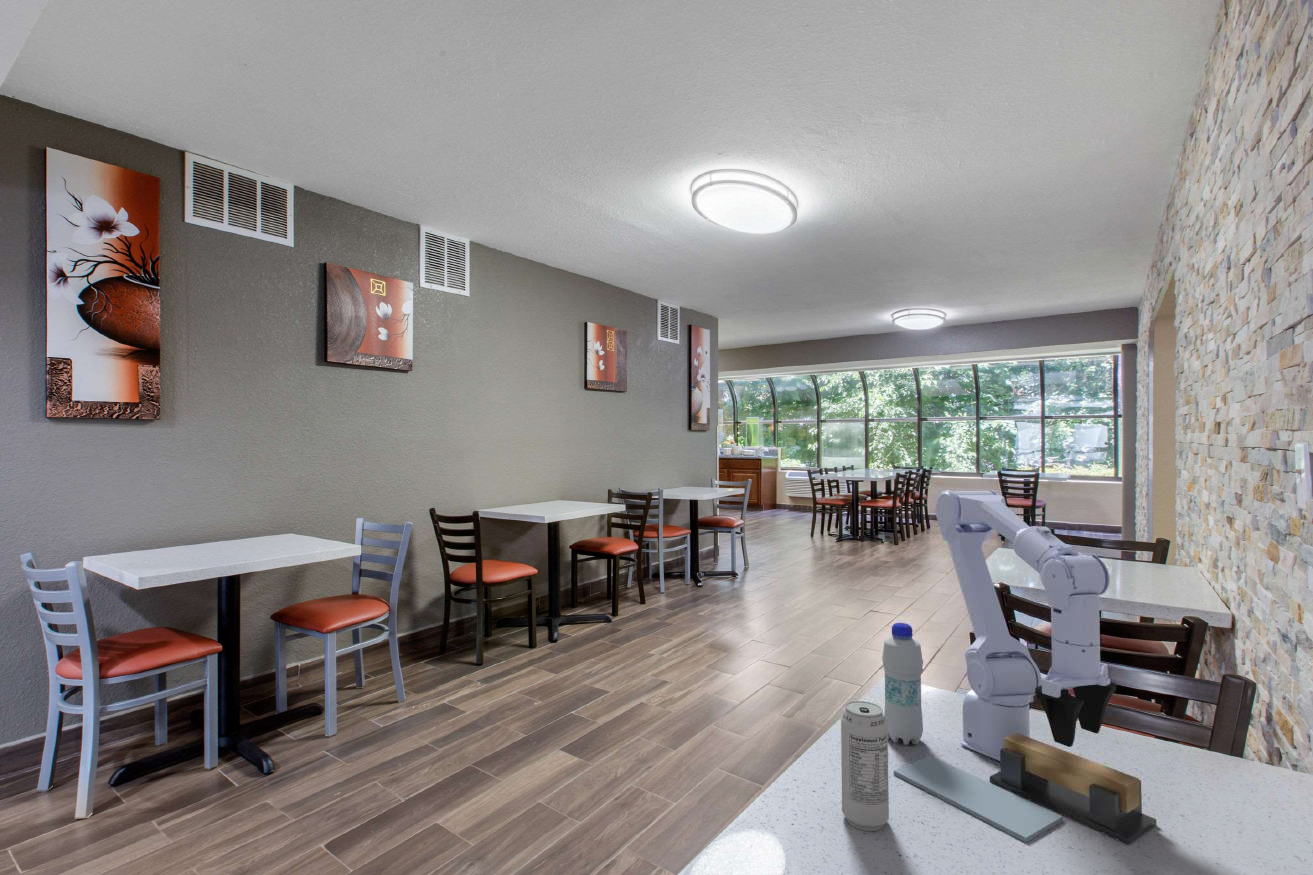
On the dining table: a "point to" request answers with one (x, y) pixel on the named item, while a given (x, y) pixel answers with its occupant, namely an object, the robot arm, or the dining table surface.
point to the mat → (980, 798)
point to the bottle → (903, 685)
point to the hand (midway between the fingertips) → (1076, 736)
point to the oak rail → (1074, 770)
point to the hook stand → (1074, 800)
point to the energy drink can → (864, 766)
